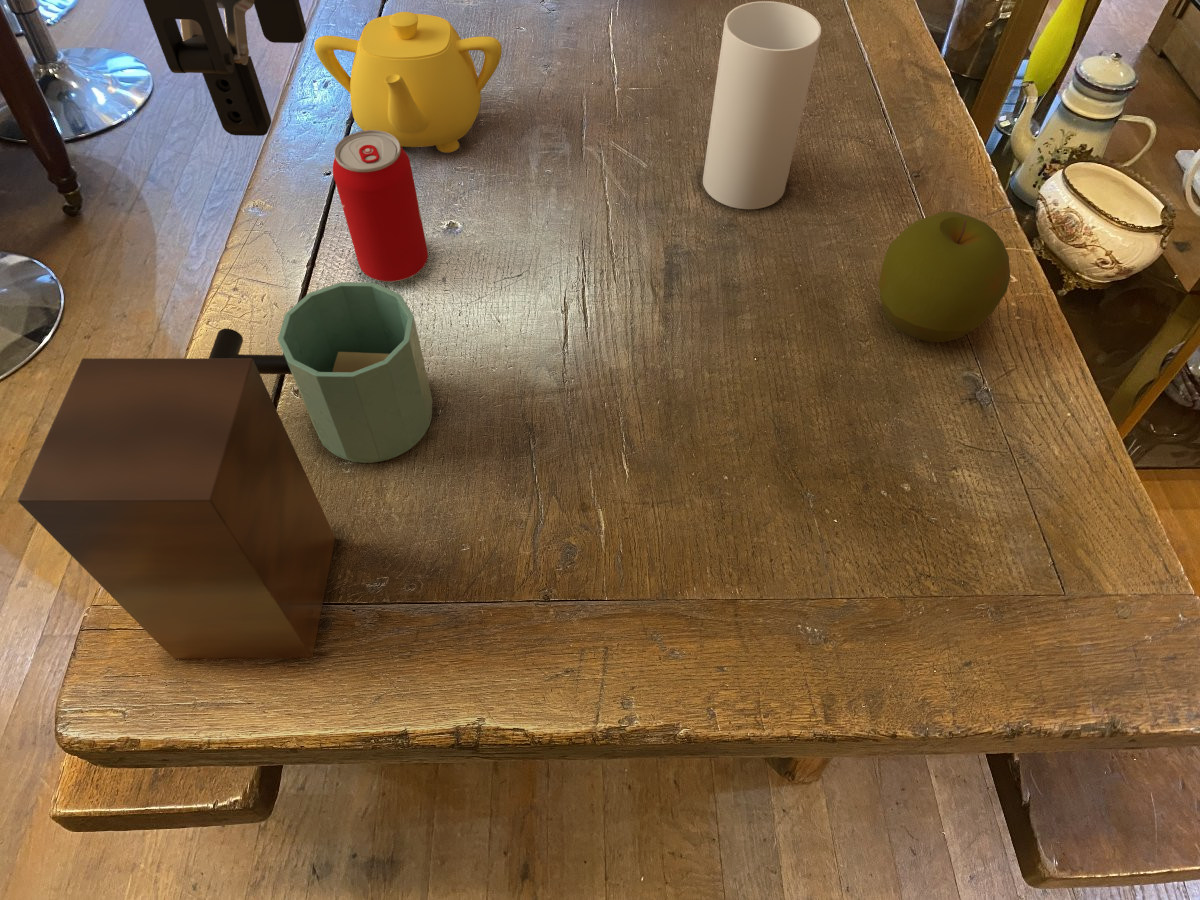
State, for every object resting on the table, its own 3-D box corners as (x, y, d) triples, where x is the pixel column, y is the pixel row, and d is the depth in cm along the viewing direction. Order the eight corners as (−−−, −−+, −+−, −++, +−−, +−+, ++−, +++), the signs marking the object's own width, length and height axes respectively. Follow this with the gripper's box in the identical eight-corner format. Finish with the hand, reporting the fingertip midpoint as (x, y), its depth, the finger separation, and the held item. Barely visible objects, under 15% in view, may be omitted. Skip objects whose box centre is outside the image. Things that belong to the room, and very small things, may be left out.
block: (396, 436, 66) (385, 399, 62) (338, 434, 66) (324, 396, 62) (406, 391, 68) (397, 353, 65) (350, 389, 68) (337, 351, 65)
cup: (687, 171, 86) (706, 13, 74) (755, 150, 89) (785, -7, 76) (731, 218, 82) (759, 59, 69) (801, 195, 85) (841, 37, 72)
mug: (220, 461, 65) (169, 374, 56) (249, 371, 70) (206, 279, 62) (424, 463, 65) (402, 377, 57) (438, 373, 70) (419, 283, 62)
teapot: (322, 135, 89) (291, 21, 80) (426, 79, 96) (408, -32, 86) (411, 192, 84) (389, 78, 74) (514, 129, 90) (506, 16, 81)
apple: (876, 362, 72) (918, 262, 63) (854, 282, 77) (889, 180, 68) (994, 362, 72) (1053, 262, 63) (963, 282, 78) (1012, 180, 69)
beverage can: (419, 234, 80) (397, 119, 70) (436, 278, 77) (415, 163, 67) (353, 250, 79) (321, 134, 69) (367, 294, 75) (335, 180, 66)
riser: (312, 658, 56) (210, 500, 40) (172, 659, 55) (16, 501, 40) (335, 537, 61) (253, 357, 46) (208, 538, 61) (81, 357, 45)
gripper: (103, -377, 36) (232, 12, 49) (-50, -269, 27) (155, 166, 40) (284, -372, 36) (364, 15, 49) (187, -264, 27) (314, 168, 41)
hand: (269, 83), depth 45 cm, fingers open, 8 cm apart
